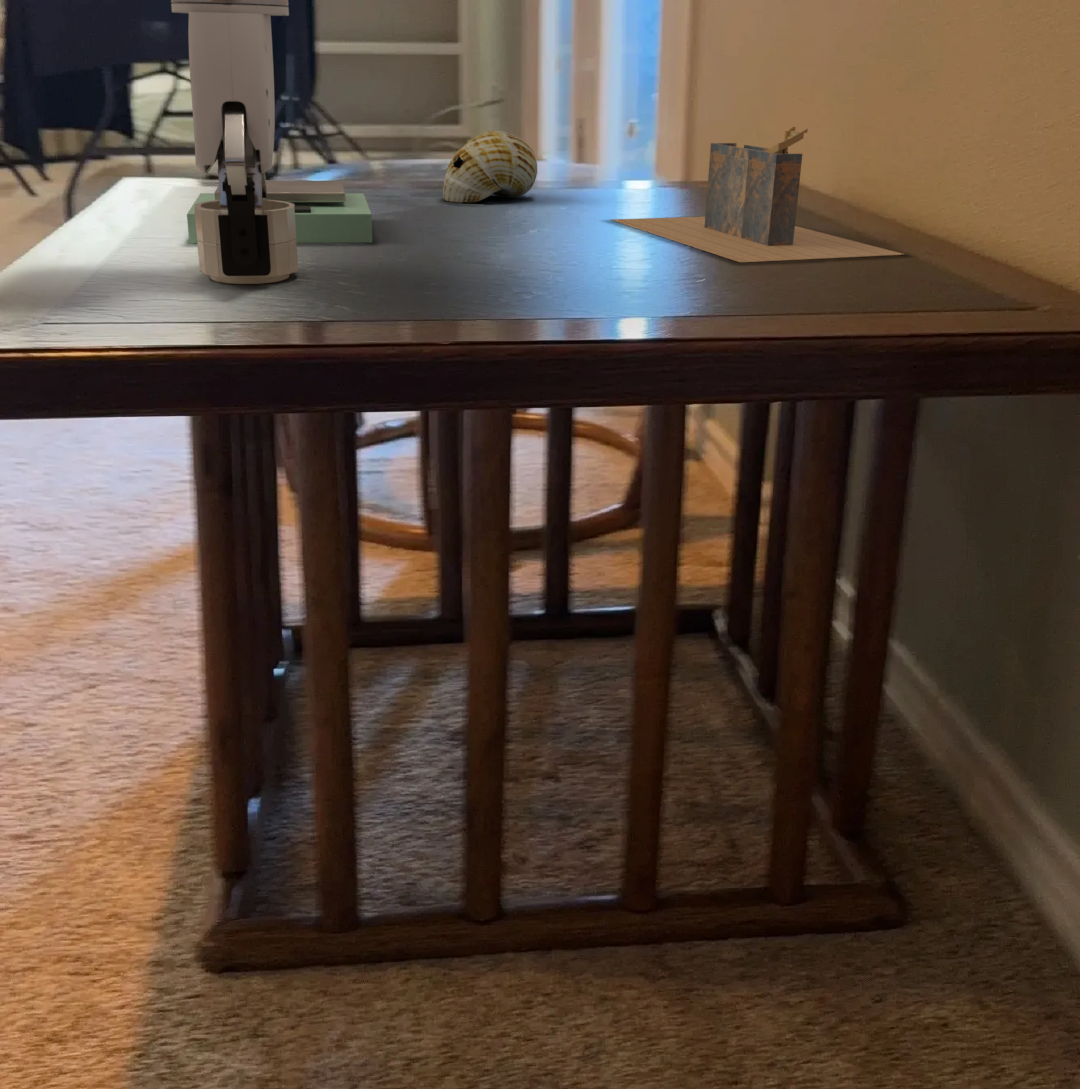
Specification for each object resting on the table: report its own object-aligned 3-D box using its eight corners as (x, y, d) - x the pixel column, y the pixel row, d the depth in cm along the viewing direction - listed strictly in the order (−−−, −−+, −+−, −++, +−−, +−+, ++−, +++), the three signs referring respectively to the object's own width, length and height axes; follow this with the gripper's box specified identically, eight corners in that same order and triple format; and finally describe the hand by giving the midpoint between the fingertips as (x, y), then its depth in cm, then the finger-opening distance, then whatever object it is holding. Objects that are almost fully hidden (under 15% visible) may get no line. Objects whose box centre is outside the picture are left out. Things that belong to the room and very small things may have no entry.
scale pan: (215, 202, 100) (214, 192, 100) (221, 189, 108) (220, 180, 108) (345, 202, 102) (345, 192, 102) (342, 189, 110) (342, 181, 110)
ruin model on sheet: (906, 254, 101) (923, 134, 97) (740, 262, 95) (751, 135, 91) (753, 215, 122) (762, 115, 118) (609, 219, 116) (614, 114, 112)
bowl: (197, 286, 81) (190, 211, 79) (204, 268, 87) (198, 198, 85) (298, 285, 82) (293, 211, 80) (298, 268, 88) (294, 199, 86)
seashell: (435, 197, 123) (437, 104, 124) (450, 228, 133) (451, 142, 134) (532, 194, 122) (533, 101, 123) (539, 227, 132) (540, 140, 133)
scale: (189, 243, 97) (186, 210, 96) (202, 219, 110) (200, 189, 108) (372, 242, 100) (371, 209, 98) (364, 219, 112) (363, 190, 111)
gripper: (182, -8, 84) (204, 246, 91) (154, -17, 69) (184, 289, 76) (289, -4, 86) (303, 245, 93) (285, -13, 70) (302, 288, 77)
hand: (249, 263), depth 84 cm, fingers closed on bowl, 6 cm apart
